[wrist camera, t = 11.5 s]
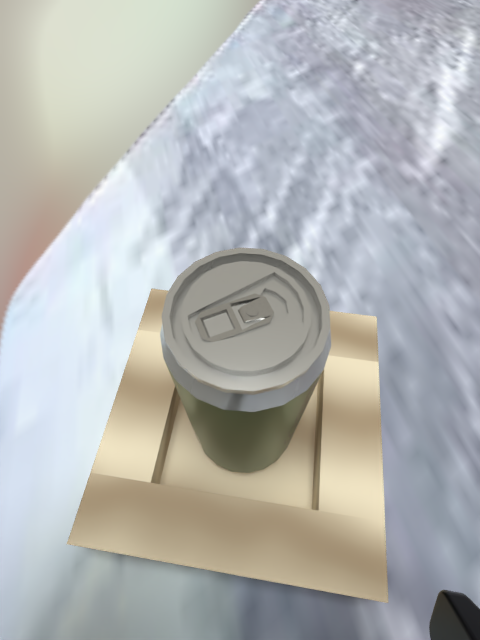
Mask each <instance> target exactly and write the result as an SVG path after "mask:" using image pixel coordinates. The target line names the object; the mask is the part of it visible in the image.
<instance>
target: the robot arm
mask: <svg viewBox="0 0 480 640" xmlns="http://www.w3.org/2000/svg"><path fill="white" fill-rule="evenodd" d="M429 630H430V638H431V640H480V609H479V608H478V607H477V606H476V605H475V604H474V603H473V602H472V601H471V600H470V599H469V598H468V597H467V596H466V595H464V594H462V593H459V592H453V591H448V590H442V591H440V592H439V594H438V597H437V600H436V603H435V606H434V610H433V613H432V616H431V620H430V626H429Z"/></svg>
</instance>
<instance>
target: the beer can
mask: <svg viewBox="0 0 480 640" xmlns="http://www.w3.org/2000/svg"><path fill="white" fill-rule="evenodd" d="M161 317H162V327H161V332H160V338H161V345H162V352H163V358H164V361H165V363H166V365H167V368H168V370H169V373H170V375H171V377H172V380H173V382H174V384H175V387H176V389H177V392H178V394H179V396H180V399H181V401H182V404H183V406H184V408H185V411H186V413H187V415H188V418H189V420H190V423H191V425H192V427H193V430H194V432H195V435H196V437H197V439H198V441H199V443H200V445H201V447H202V449H203V451H204V452H205V454H206V455H207V456H208V457H209V458H210V459H211V460H212V461H213V462H214V463H215V464H217V465H218V466H220V467H223V468H225V469H227V470H229V471H232V472H242V473H250V472H254V471H258V470H262V469H265V468H266V467H268V466H269V465H271V464H272V463H274V462H275V461H277V460H278V459H279V458H280V456H281V455H282V454H283V452H284V451H285V450H286V448H287V447H288V445H289V443H290V441H291V438H292V436H293V434H294V432H295V430H296V428H297V426H298V423H299V421H300V419H301V417H302V415H303V413H304V411H305V408H306V406H307V404H308V402H309V400H310V398H311V396H312V393H313V391H314V389H315V387H316V385H317V383H318V381H319V378H320V376H321V374H322V372H323V370H324V367H325V364H326V361H327V358H328V355H329V352H330V349H331V331H330V310H329V304H328V301H327V299H326V297H325V294H324V292H323V290H322V288H321V285H320V284H319V283H318V282H317V281H316V280H315V278H314V277H313V276H312V275H311V274H310V273H309V272H308V271H307V270H306V268H304V267H303V266H301V265H299V264H298V263H296V262H295V261H293V260H291V259H290V258H288V257H286V256H284V255H281V254H278V253H274V252H271V251H268V250H265V249H253V248H235V249H230V250H224V251H219V252H215V253H213V254H211V255H209V256H207V257H204V258H202V259H200V260H198V261H196V262H194V263H193V264H192V265H191V266H190V267H188V268H187V269H186V270H185V271H184V272H183V273H181V274H180V275H179V276H178V277H177V279H176V280H175V282H174V284H173V285H172V287H171V288H170V290H169V291H168V293H167V295H166V298H165V303H164V307H163V312H162V316H161Z"/></svg>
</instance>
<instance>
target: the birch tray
mask: <svg viewBox="0 0 480 640" xmlns="http://www.w3.org/2000/svg"><path fill="white" fill-rule="evenodd" d="M167 293H168V291H166V290H158V289H151V292H150V295H149V298H148V301H147V304H146V307H145V310H144V313H143V316H142V319H141V322H140V325H139V328H138V331H137V334H136V337H135V340H134V343H133V346H132V349H131V352H130V355H129V358H128V361H127V364H126V367H125V370H124V373H123V376H122V379H121V382H120V385H119V388H118V391H117V394H116V397H115V400H114V403H113V406H112V409H111V412H110V416H109V419H108V422H107V425H106V428H105V431H104V434H103V437H102V440H101V443H100V446H99V449H98V452H97V455H96V458H95V461H94V464H93V467H92V470H91V473H90V476H89V479H88V482H87V485H86V488H85V491H84V494H83V497H82V500H81V503H80V506H79V509H78V512H77V515H76V518H75V521H74V524H73V527H72V530H71V533H70V536H69V539H68V542H67V544H69V545H75V546H80V547H86V548H91V549H97V550H102V551H108V552H113V553H118V554H124V555H129V556H135V557H140V558H146V559H151V560H157V561H162V562H167V563H173V564H178V565H184V566H189V567H195V568H200V569H206V570H211V571H217V572H222V573H227V574H233V575H238V576H244V577H249V578H255V579H260V580H266V581H271V582H276V583H282V584H287V585H293V586H298V587H304V588H309V589H315V590H320V591H325V592H331V593H336V594H342V595H347V596H353V597H358V598H364V599H369V600H375V601H380V602H385V603H388V586H387V561H386V537H385V512H384V488H383V463H382V438H381V414H380V389H379V365H378V340H377V317H374V316H366V315H358V314H350V313H342V312H334V311H330V331H331V349H330V352H329V355H328V358H327V361H326V364H325V367H324V370H323V372H322V374H321V376H320V378H319V381H318V383H317V385H316V387H315V389H314V391H313V393H312V396H311V398H310V400H309V402H308V404H307V406H306V408H305V411H304V413H303V415H302V417H301V419H300V421H299V423H298V426H297V428H296V430H295V432H294V434H293V436H292V438H291V441H290V443H289V445H288V447H287V448H286V450H285V451H284V452H283V454H282V455H281V456H280V458H279V459H278V460H277V461H275V462H274V463H272V464H271V465H269V466H268V467H266V468H265V469H262V470H258V471H254V472H250V473H242V472H232V471H229V470H227V469H225V468H223V467H220V466H218V465H217V464H215V463H214V462H213V461H212V460H211V459H210V458H209V457H208V456H207V455H206V454H205V452H204V451H203V449H202V447H201V445H200V443H199V441H198V439H197V437H196V435H195V432H194V430H193V427H192V425H191V423H190V420H189V418H188V415H187V413H186V411H185V408H184V406H183V404H182V401H181V399H180V396H179V394H178V392H177V389H176V387H175V384H174V382H173V380H172V377H171V375H170V373H169V370H168V368H167V365H166V363H165V361H164V358H163V352H162V345H161V338H160V332H161V327H162V317H161V316H162V312H163V307H164V303H165V298H166V295H167Z"/></svg>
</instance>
